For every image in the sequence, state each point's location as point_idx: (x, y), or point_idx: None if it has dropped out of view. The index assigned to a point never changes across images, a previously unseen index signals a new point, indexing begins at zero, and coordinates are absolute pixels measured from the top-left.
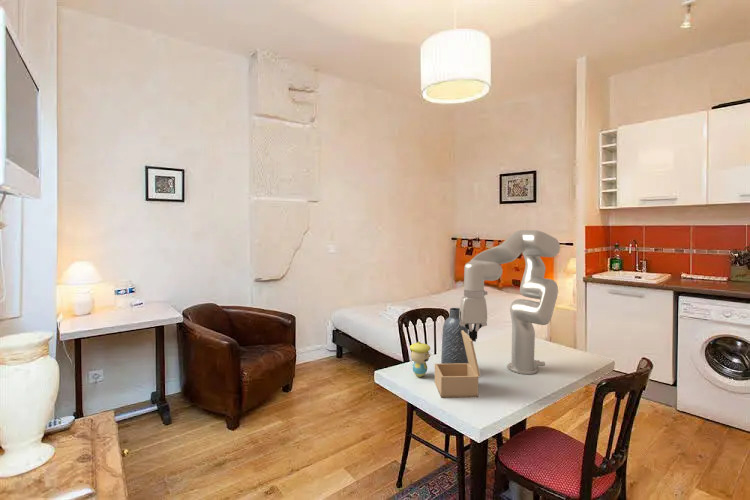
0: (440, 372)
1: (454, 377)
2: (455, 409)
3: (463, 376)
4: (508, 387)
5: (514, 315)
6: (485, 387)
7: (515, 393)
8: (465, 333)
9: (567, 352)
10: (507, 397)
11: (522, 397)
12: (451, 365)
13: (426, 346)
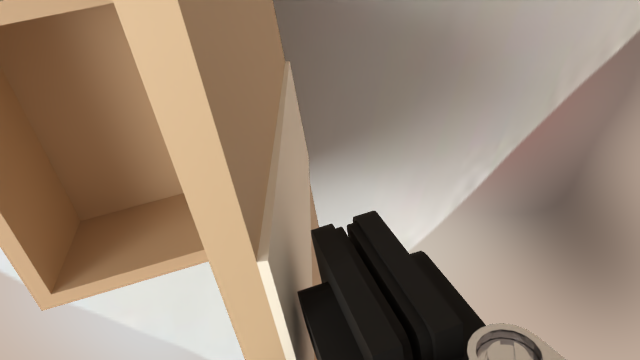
0: (7, 234)
1: (140, 279)
2: (170, 311)
3: (204, 256)
4: (464, 7)
5: None
6: (334, 31)
7: (472, 83)
8: (248, 265)
9: None
10: (421, 139)
11: (487, 123)
12: (68, 9)
13: None
